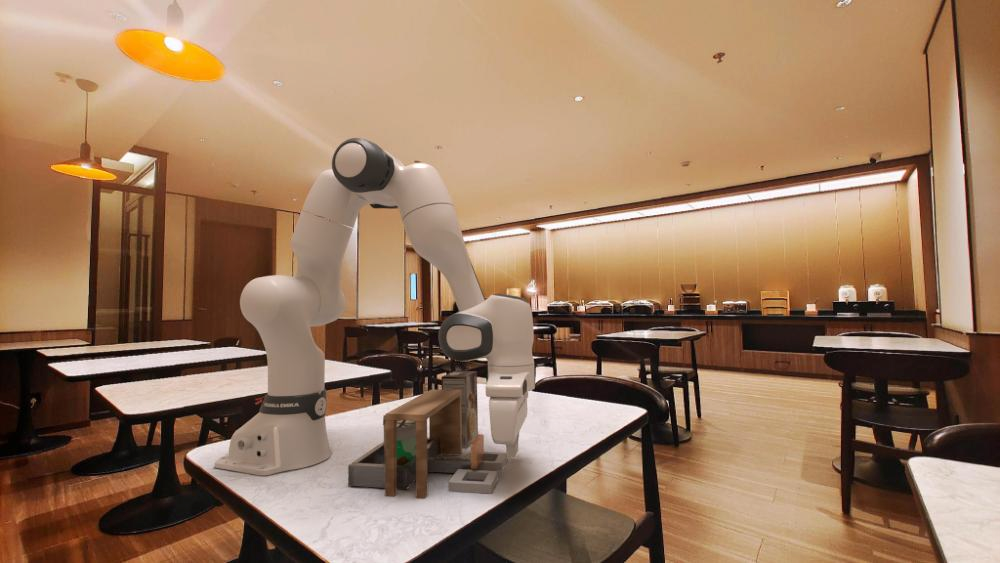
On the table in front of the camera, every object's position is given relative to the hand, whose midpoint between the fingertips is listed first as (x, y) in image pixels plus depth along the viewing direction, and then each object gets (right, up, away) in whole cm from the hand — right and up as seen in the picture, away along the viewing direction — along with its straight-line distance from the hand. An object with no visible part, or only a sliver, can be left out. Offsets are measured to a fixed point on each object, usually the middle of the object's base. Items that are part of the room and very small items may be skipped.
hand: (512, 454), depth 77 cm
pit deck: (-6, -4, +1) cm, 7 cm away
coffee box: (-12, -6, +21) cm, 25 cm away
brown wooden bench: (-16, -4, +3) cm, 17 cm away
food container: (-21, -5, +3) cm, 21 cm away
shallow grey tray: (-17, -4, +3) cm, 18 cm away
